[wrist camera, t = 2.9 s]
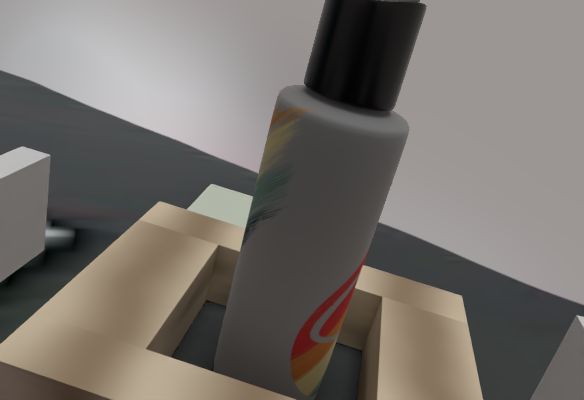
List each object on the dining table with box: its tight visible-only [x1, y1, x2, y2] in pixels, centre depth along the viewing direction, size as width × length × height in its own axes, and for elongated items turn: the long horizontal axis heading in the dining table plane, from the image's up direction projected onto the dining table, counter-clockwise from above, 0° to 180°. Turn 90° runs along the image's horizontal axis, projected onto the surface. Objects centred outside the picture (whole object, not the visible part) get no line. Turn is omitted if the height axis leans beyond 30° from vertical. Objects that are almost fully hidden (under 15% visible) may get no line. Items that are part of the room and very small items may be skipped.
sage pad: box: [187, 184, 253, 228], centre depth 42 cm, size 14×11×1 cm
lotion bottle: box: [213, 0, 426, 400], centre depth 24 cm, size 6×6×20 cm
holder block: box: [0, 201, 483, 400], centre depth 28 cm, size 20×16×4 cm
